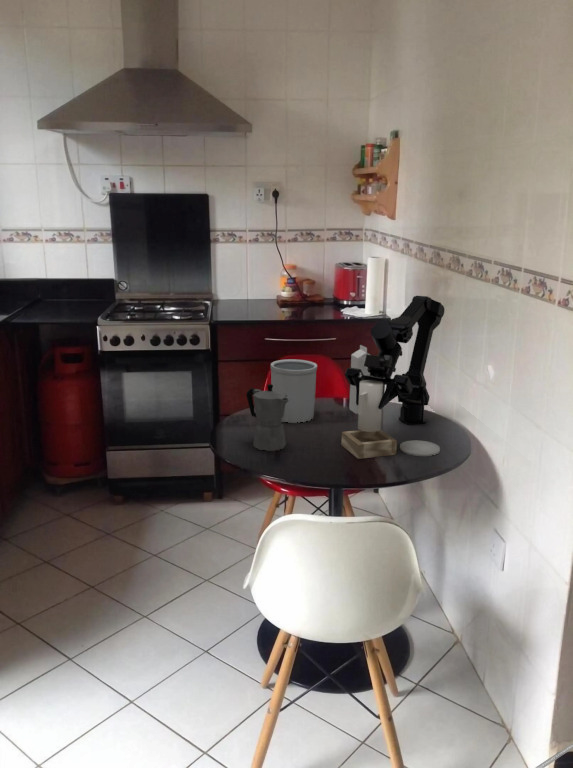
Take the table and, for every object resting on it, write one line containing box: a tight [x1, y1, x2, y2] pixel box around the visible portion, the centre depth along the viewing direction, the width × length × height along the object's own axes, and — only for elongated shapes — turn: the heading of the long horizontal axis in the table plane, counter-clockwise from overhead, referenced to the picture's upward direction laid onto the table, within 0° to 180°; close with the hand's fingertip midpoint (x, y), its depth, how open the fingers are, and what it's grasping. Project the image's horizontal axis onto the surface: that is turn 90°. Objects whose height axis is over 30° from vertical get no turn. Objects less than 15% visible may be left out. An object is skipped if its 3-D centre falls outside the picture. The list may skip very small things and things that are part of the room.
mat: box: [399, 439, 441, 457], centre depth 188 cm, size 11×11×1 cm
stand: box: [340, 429, 398, 460], centre depth 187 cm, size 11×11×4 cm
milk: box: [348, 344, 371, 415], centre depth 221 cm, size 6×6×22 cm
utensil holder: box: [270, 358, 318, 424], centre depth 214 cm, size 15×15×18 cm
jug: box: [357, 380, 384, 432], centre depth 183 cm, size 9×6×13 cm
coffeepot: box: [246, 383, 289, 452], centre depth 188 cm, size 15×9×18 cm, turn 49°
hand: (368, 406), depth 183 cm, fingers closed on jug, 6 cm apart
